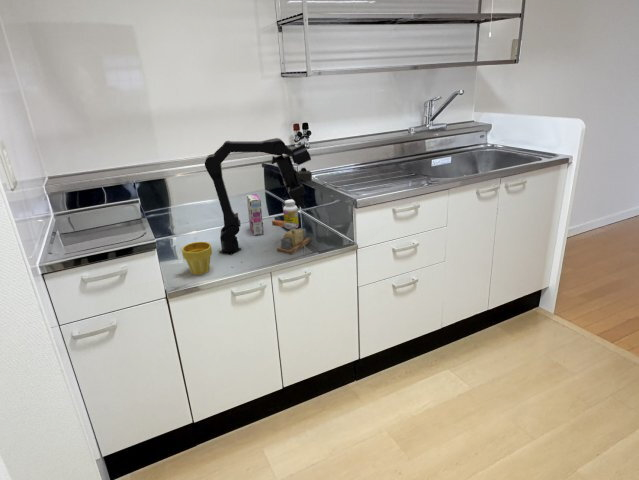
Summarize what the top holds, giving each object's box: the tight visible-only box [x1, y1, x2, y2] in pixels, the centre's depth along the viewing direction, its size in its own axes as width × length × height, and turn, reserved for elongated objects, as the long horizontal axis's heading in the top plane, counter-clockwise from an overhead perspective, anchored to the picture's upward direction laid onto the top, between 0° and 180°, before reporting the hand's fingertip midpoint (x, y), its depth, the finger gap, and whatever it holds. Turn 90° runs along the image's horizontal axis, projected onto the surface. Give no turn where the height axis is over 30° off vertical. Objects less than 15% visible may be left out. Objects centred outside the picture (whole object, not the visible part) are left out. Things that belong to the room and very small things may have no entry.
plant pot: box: [181, 241, 213, 276], centre depth 151 cm, size 10×10×10 cm
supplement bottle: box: [282, 199, 300, 230], centre depth 190 cm, size 7×7×13 cm
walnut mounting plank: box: [276, 237, 312, 255], centre depth 170 cm, size 15×7×2 cm, turn 150°
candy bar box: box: [246, 193, 264, 237], centre depth 186 cm, size 11×5×16 cm, turn 17°
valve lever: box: [271, 219, 297, 229], centre depth 169 cm, size 11×3×2 cm, turn 60°
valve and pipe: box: [280, 227, 308, 250], centre depth 169 cm, size 14×5×7 cm, turn 150°
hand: (301, 204), depth 168 cm, fingers open, 9 cm apart
